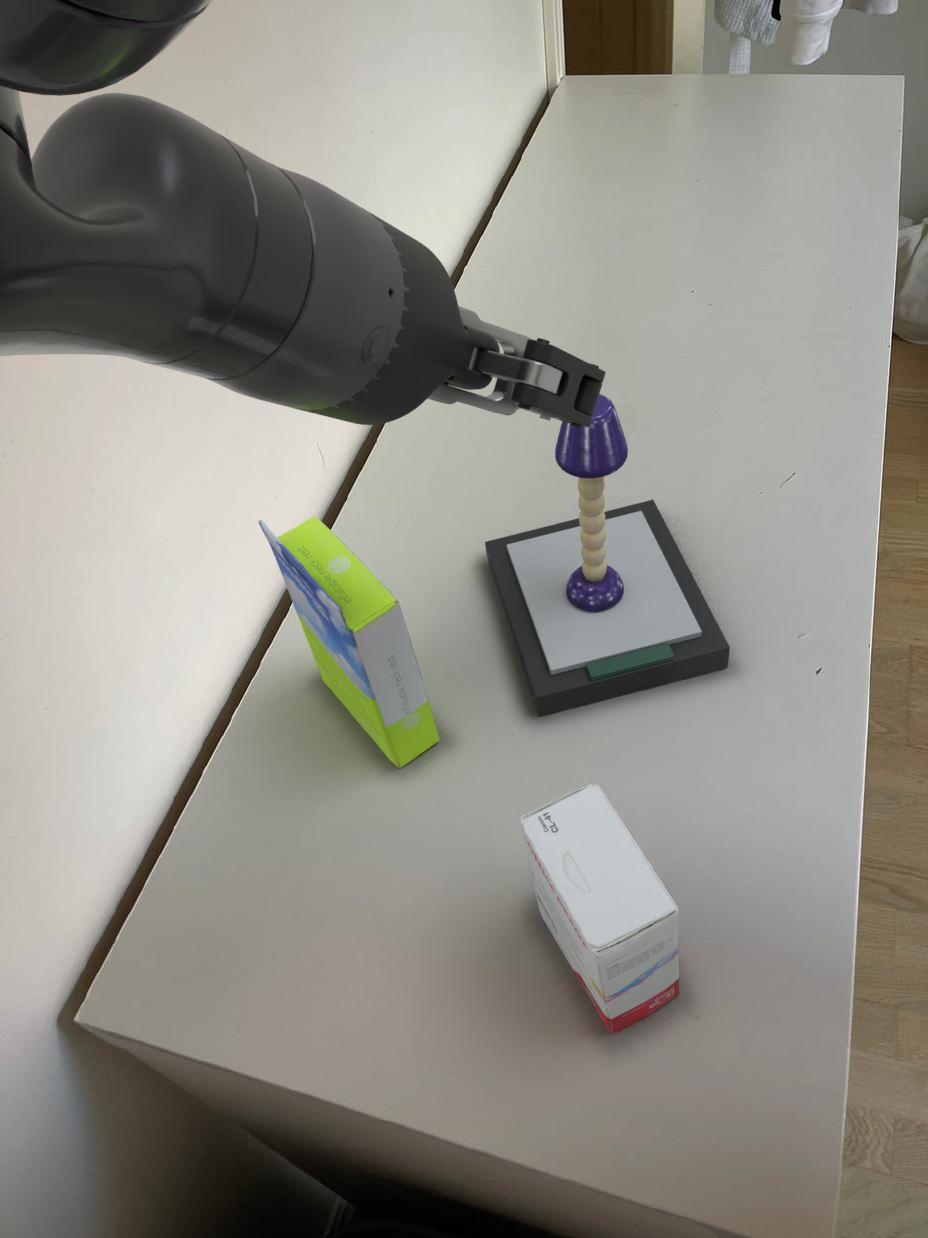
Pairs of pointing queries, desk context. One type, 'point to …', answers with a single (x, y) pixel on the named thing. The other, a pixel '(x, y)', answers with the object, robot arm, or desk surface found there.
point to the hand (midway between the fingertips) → (504, 383)
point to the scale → (604, 612)
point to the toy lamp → (593, 502)
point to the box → (356, 638)
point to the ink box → (604, 905)
